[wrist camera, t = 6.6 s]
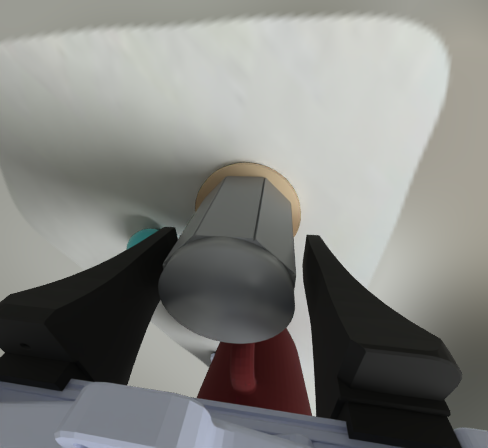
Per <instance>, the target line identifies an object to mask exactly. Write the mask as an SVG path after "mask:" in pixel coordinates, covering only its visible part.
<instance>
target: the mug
mask: <svg viewBox="0 0 488 448" xmlns="http://www.w3.org/2000/svg"><path fill="white" fill-rule="evenodd" d="M197 398H199V399H205V400H212V401H218V402H225V403H231V404H238V405H244V406H250V407H257V408H263V409H270V410H276V411H283V412H289V413H295V414H302V415H308V416H312V413H311V409H310V404H309V400H308V395H307V391H306V387H305V382H304V378H303V374H302V369H301V365H300V360H299V356H298V352H297V349H296V346H295V343H294V341H293V339H292V337H291V335H290V334H289V332H288V330H287V328H285V329H284V330H283V331H282V332H280V333H279V334H278V335H276V336H274V337H272V338H269V339H267V340H264V341H260V342H254V343H245V344H238V343H227V342H221V341H220V343H219V346H218V348H217V350H216V353H215V355H214V358H213V360H212V362H211V365H210V367H209V370H208V372H207V374H206V377H205V379H204V381H203V384H202V386H201V388H200V391H199V393H198V396H197Z"/></svg>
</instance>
